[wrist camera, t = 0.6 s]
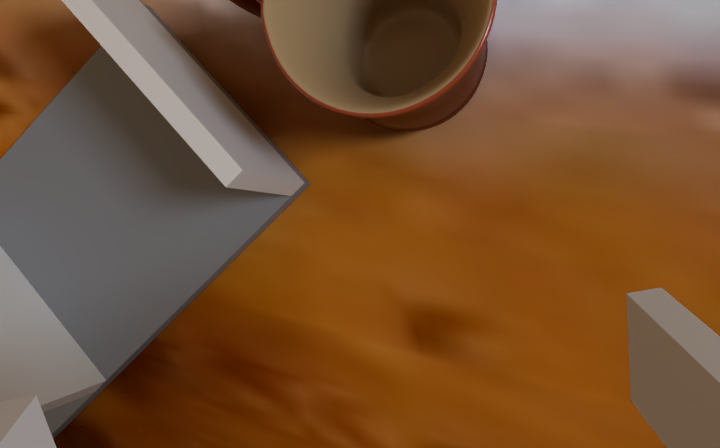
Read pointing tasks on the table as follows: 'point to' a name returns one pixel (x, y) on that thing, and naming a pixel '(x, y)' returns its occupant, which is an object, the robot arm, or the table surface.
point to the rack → (123, 208)
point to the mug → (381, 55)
